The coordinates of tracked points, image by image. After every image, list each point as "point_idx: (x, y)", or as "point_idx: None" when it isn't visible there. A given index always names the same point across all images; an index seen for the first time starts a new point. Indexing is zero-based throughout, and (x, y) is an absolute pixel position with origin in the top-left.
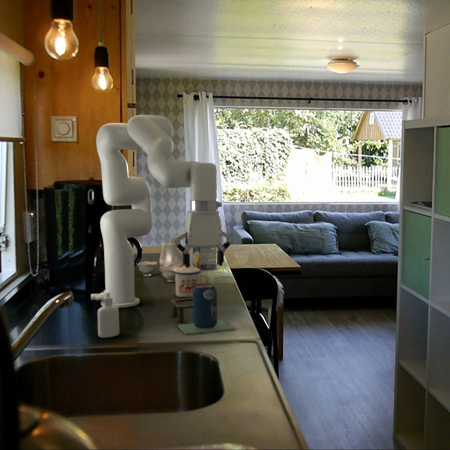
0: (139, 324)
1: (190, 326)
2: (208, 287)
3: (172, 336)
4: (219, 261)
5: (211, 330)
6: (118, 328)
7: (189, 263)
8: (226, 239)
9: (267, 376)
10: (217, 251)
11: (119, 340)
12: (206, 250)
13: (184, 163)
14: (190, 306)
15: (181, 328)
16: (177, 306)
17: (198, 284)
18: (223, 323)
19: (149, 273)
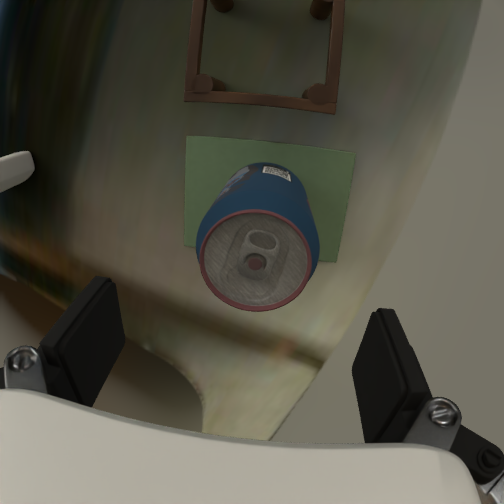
0: (91, 72)
1: (220, 176)
2: (255, 311)
3: (147, 240)
4: (358, 383)
5: None
6: (24, 175)
7: (114, 360)
8: (495, 500)
9: None
10: (399, 400)
11: (36, 215)
12: None
13: None
14: (239, 103)
15: (185, 187)
16: (184, 93)
17: (235, 214)
18: (336, 194)
19: None
